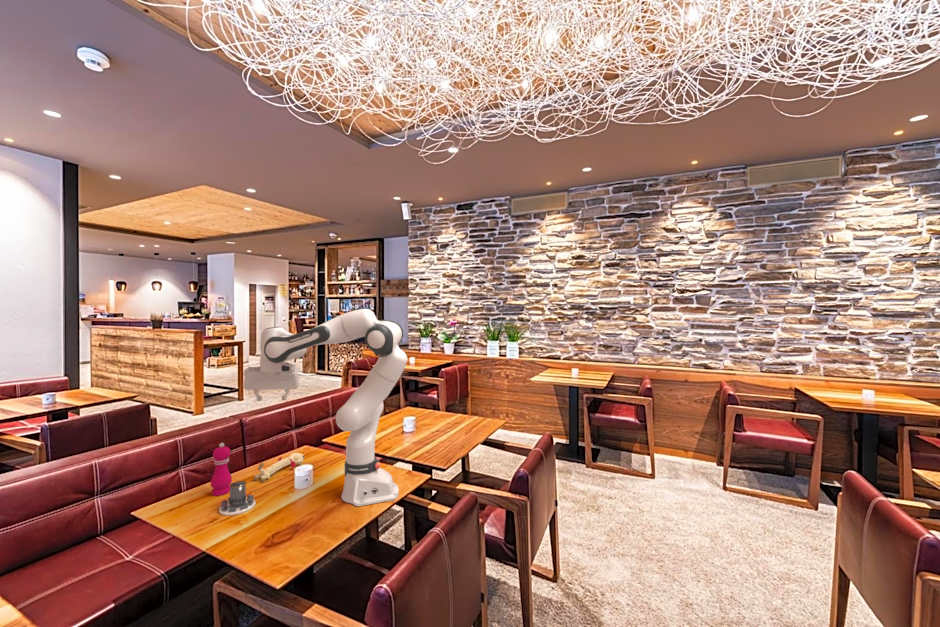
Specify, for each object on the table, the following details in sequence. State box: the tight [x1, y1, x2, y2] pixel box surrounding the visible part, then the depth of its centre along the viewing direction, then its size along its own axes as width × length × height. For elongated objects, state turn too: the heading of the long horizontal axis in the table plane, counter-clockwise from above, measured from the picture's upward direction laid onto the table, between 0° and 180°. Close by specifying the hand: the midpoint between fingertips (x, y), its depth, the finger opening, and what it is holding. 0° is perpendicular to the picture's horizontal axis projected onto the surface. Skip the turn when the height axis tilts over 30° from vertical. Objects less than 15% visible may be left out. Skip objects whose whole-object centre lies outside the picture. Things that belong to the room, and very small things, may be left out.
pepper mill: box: [210, 442, 233, 497], centre depth 155 cm, size 7×7×20 cm
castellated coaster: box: [218, 493, 256, 516], centre depth 144 cm, size 12×12×3 cm
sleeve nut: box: [229, 480, 247, 508], centre depth 144 cm, size 5×5×8 cm
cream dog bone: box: [253, 452, 305, 483], centre depth 177 cm, size 10×9×25 cm
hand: (271, 400), depth 157 cm, fingers open, 8 cm apart
